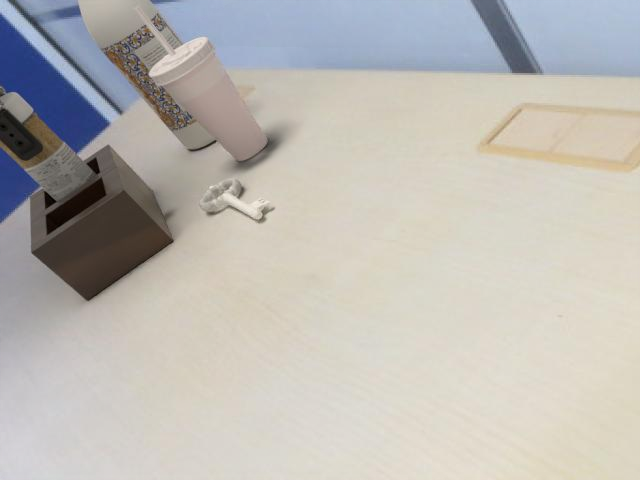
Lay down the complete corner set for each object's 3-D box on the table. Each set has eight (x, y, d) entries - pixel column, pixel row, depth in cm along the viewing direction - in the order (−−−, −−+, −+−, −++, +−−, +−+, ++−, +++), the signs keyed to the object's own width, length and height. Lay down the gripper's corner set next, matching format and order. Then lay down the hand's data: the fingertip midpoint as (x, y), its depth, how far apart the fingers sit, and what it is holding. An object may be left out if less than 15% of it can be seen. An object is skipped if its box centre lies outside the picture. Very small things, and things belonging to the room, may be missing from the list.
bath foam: (186, 139, 85) (25, -49, 71) (237, 107, 85) (88, -87, 71) (188, 159, 80) (16, -38, 66) (242, 125, 80) (83, -80, 66)
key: (233, 181, 70) (197, 208, 69) (226, 172, 70) (190, 199, 69) (282, 204, 63) (242, 236, 62) (274, 195, 62) (234, 226, 61)
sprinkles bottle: (113, 221, 77) (-11, 99, 67) (145, 209, 75) (23, 83, 66) (91, 248, 74) (-41, 126, 64) (124, 237, 73) (-6, 110, 63)
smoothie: (256, 131, 78) (148, -8, 67) (290, 129, 74) (183, -19, 64) (213, 170, 75) (95, 31, 65) (247, 169, 71) (128, 23, 61)
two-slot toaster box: (77, 240, 77) (29, 196, 73) (152, 190, 78) (108, 143, 74) (87, 301, 66) (30, 252, 62) (173, 240, 67) (123, 189, 63)
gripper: (-199, -34, 60) (0, 152, 72) (-241, -18, 50) (-3, 193, 63) (-115, -83, 61) (67, 109, 73) (-142, -77, 51) (73, 143, 64)
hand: (33, 147), depth 68 cm, fingers closed on sprinkles bottle, 4 cm apart
